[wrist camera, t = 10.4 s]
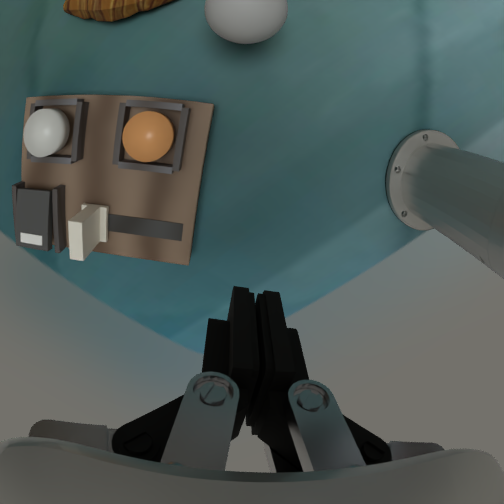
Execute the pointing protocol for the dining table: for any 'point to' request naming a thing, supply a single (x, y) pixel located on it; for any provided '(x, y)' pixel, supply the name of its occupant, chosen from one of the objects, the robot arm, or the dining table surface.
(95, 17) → the croissant
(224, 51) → the dining table surface
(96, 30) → the dining table surface
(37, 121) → the grey button
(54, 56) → the dining table surface
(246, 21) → the lightbulb
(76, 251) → the cream stepped block
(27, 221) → the rocker
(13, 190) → the panel
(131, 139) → the orange button
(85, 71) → the dining table surface
